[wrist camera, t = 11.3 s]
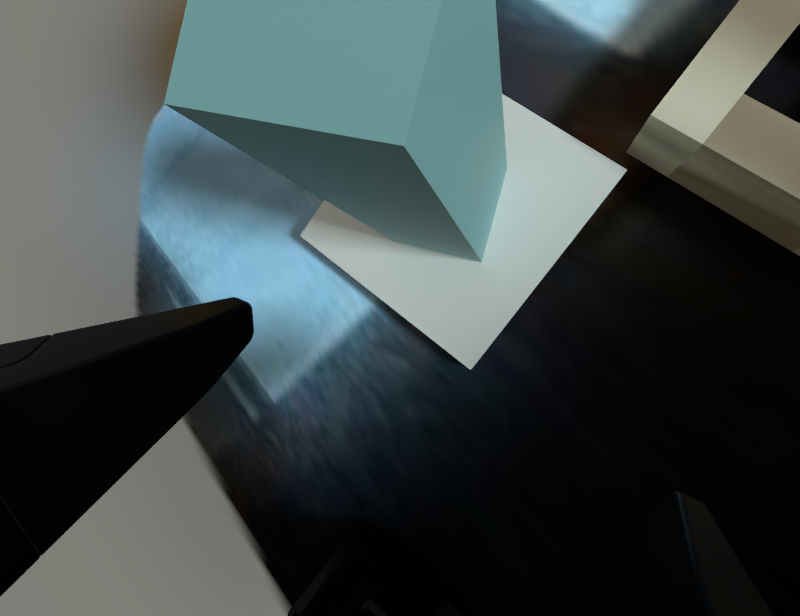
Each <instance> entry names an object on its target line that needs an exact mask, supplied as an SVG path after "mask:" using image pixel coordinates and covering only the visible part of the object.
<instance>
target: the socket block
mask: <svg viewBox="0 0 800 616" xmlns="http://www.w3.org/2000/svg"><path fill="white" fill-rule="evenodd" d="M799 24H800V0H739V1H738V3H737V4H736V5H735V7H734V8H733V9H732V10H731V12H730V13H729V14H728V16H727V17H726V18H725V19H724V21H723V22H722V23H721V25H720V26H719V27H718V29H717V30H716V31H715V32H714V34H713V35H712V36H711V38H710V39H709V40H708V41H707V43H706V44H705V45H704V47H703V48H702V49H701V50H700V52H699V53H698V54H697V56H696V57H695V58H694V59H693V61H692V62H691V63H690V65H689V66H688V67H687V69H686V70H685V71H684V72H683V74H682V75H681V76H680V78H679V79H678V80H677V81H676V83H675V84H674V85H673V87H672V88H671V89H670V90H669V92H668V93H667V94H666V96H665V97H664V98H663V99H662V101H661V102H660V103H659V105H658V106H657V107H656V109H655V110H654V111H653V112H652V114H651V115H650V117H649V118H648V120H647V121H646V123H645V124H644V126H643V127H642V129H641V130H640V132H639V133H638V135H637V136H636V138H635V139H634V141H633V142H632V144H631V145H630V147H629V148H628V150H627V151H626V153H628V154H629V155H631V156H633V157H634V158H636V159H638V160H639V161H641V162H643V163H645V164H646V165H648V166H650V167H651V168H653V169H655V170H656V171H658V172H660V173H661V174H663V175H665V176H666V177H668V178H670V179H671V180H673V181H675V182H676V183H678V184H680V185H681V186H683V187H685V188H686V189H688V190H690V191H691V192H693V193H695V194H696V195H698V196H700V197H702V198H703V199H705V200H707V201H708V202H710V203H712V204H713V205H715V206H717V207H718V208H720V209H722V210H723V211H725V212H727V213H728V214H730V215H732V216H733V217H735V218H737V219H738V220H740V221H742V222H743V223H745V224H747V225H748V226H750V227H752V228H754V229H755V230H757V231H759V232H760V233H762V234H764V235H765V236H767V237H769V238H770V239H772V240H774V241H775V242H777V243H779V244H780V245H782V246H784V247H785V248H787V249H789V250H790V251H792V252H794V253H795V254H797V255H799V256H800V123H798V122H796V121H794V120H792V119H790V118H788V117H786V116H785V115H783V114H781V113H779V112H777V111H775V110H773V109H771V108H769V107H767V106H766V105H764V104H762V103H760V102H758V101H756V100H754V99H752V98H750V97H749V96H747V95H745V94H743V93H744V92H745V91H746V90H747V88H748V87H749V86H750V85H751V83H752V82H753V81H754V80H755V78H756V77H757V76H758V75H759V73H760V72H761V71H762V70H763V68H764V67H765V66H766V65H767V63H768V62H769V61H770V60H771V58H772V57H773V56H774V55H775V53H776V52H777V51H778V50H779V49H780V47H781V46H782V45H783V44H784V42H785V41H786V40H787V39H788V37H789V36H790V35H791V34H792V32H793V31H794V30H795V29H796V27H797V26H798V25H799Z"/></svg>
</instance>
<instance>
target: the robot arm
mask: <svg viewBox="0 0 800 616" xmlns="http://www.w3.org/2000/svg"><path fill="white" fill-rule="evenodd" d="M253 333H254V327H253V313H252V307H251V305H250V304H249V303H248V302H246V301H243V300H241V299H239V298H235V297H232V298H227V299H222V300H217V301H212V302H208V303H203V304H198V305H193V306H188V307H183V308H178V309H173V310H169V311H164V312H159V313H154V314H149V315H144V316H139V317H135V318H129V319H125V320H120V321H115V322H110V323H105V324H100V325H95V326H90V327H85V328H81V329H76V330H71V331H66V332H61V333H56V334H53V335H52V336H51V335H46V336H41V337H36V338H32V339H27V340H22V341H16V342H12V343H6V344H1V345H0V596H1V595H2V594H3V593H4V592H5V591H6V590H7V589H8V588H9V587H10V586H11V585H13V584H14V583H15V582H16V580H18V579H19V578H20V577H21V576H22V575H23V574H24V573H25V572H26V571H27V569H29V568H30V567H31V566H32V565H33V564H34V563H35V562H36V561H37V560H38V559H39V557H40V556H41V555H43V553H45V552H46V551H47V550H48V549H49V548H50V547H51V546H52V545H53V544H54V543H55V542H56V541H57V540H58V539H59V538H60V537H61V536H62V535H63V534H64V533H65V532H66V531H67V530H68V529H69V528H70V527H71V526H72V525H73V524H74V523H75V522H76V521H77V520H78V519H79V518H80V517H81V516H82V515H83V514H84V513H85V512H86V511H87V510H88V509H89V508H90V507H91V506H92V505H93V504H94V503H95V502H96V501H97V500H98V499H100V497H102V495H104V494H105V492H107V491H108V490H109V489H110V488H111V487H112V486H113V485H114V484H115V483H116V482H117V481H118V480H119V479H120V478H121V477H122V476H123V475H124V474H125V473H126V472H127V471H128V470H129V469H130V468H131V467H132V466H133V465H134V464H135V463H136V462H137V461H138V460H139V459H140V458H141V457H142V456H143V455H144V454H145V453H146V452H147V451H148V450H149V449H150V448H151V447H152V446H153V445H154V444H155V443H156V442H157V441H158V440H159V439H160V438H161V437H163V436H164V435H165V434H166V432H168V431H169V429H171V428H172V427H173V426H174V425H175V424H176V423H177V422H178V421H179V420H180V419H181V418H182V417H183V416H184V415H185V414H186V413H187V412H188V411H189V410H190V409H191V408H192V407H193V406H194V405H195V404H196V403H197V402H198V401H199V400H200V399H201V398H202V397H203V396H204V395H205V394H206V393H207V392H208V391H209V390H210V389H211V387H212V386H213V385H214V384H215V383H216V382H217V381H218V379H219V378H220V377H221V376H222V375H223V373H224V372H225V371H226V370H227V369H228V367H229V366H230V365H231V364H232V363H233V361H234V360H235V359H236V358H237V357H238V355H239V354H240V353H241V352H242V351H243V349H244V348H245V347H246V346H247V345H248V343H249V342H250V341H251V339H252V336H253ZM362 529H364V530H365V531H367V533H368V536H364V535H362V533H361V530H362ZM297 613H299V614H300V615H299V616H469V615H468V614H467V612H466V611H465V610H464V609H463V608H462V607H461V606H460V605H458V604H457V603H456V602H455V601H454V600H453V599H452V598H451V597H450V596H449V595H448V594H447V593H446V592H445V591H444V590H443V589H442V586H441V584H440V583H439V582H437V581H436V580H435V579H434V578H433V577H432V576H431V575H430V574H429V573H428V572H427V571H426V570H425V569H424V568H423V567H421V566H420V565H419V564H418V563H417V562H416V561H415V560H414V559H413V558H412V557H411V556H410V555H409V554H408V553H407V552H405V551H404V550H403V549H402V548H401V547H397V546H396V545H395V544H394V543H393V542H391V541H390V540H389V539H388V538H387V537H386V536H385V535H384V534H383V533H382V532H381V531H380V530H379V529H378V528H377V527H376V526H374V525H373V524H372V523H371V522H369V521H367V520H363V521H360V522H359V523H358V524H357V525H356V526H355V528H354V529H353V530H352V531H351V533H350V534H349V535H348V537H347V538H346V539H345V540H344V542H343V543H342V544H341V545H340V547H339V548H338V549H337V551H336V552H335V553H334V554H333V556H332V557H331V558H330V559H329V561H328V562H327V563H326V565H325V566H324V567H323V568H322V570H321V571H320V572H319V573H318V575H317V576H316V577H315V579H314V580H313V581H312V582H311V584H310V585H309V586H308V587H307V589H306V590H305V591H304V593H303V594H302V595H301V596H300V598H299V599H298V600H297V601H296V603H295V604H294V605H293V607H292V608H291V609H290V611H289V613H288V616H298V615H297ZM635 616H775V615H774V614H773V612H772V611H771V609H770V607H769V606H768V604H767V603H766V601H765V599H764V598H763V596H762V594H761V593H760V591H759V590H758V588H757V586H756V585H755V583H754V582H753V580H752V578H751V577H750V575H749V574H748V572H747V570H746V569H745V567H744V566H743V564H742V562H741V561H740V559H739V557H738V556H737V554H736V553H735V551H734V549H733V548H732V546H731V545H730V543H729V541H728V540H727V538H726V537H725V535H724V533H723V532H722V530H721V529H720V527H719V525H718V524H717V522H716V520H715V519H714V517H713V516H712V514H711V512H710V511H709V509H708V508H707V506H706V505H705V504H704V503H703V502H702V501H700V500H698V499H696V498H693V497H691V496H689V495H687V494H684V493H682V492H674V493H673V494H672V495H671V496H670V497H669V498H668V499H667V500H666V501H665V502H664V503H663V505H662V506H661V507H660V508H659V509H658V510H657V511H656V513H655V514H654V515H653V516H652V518H651V520H650V523H649V526H648V531H647V538H646V545H645V551H644V558H643V565H642V571H641V578H640V585H639V591H638V598H637V606H636V615H635Z"/></svg>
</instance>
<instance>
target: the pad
mask: <svg viewBox="0 0 800 616" xmlns="http://www.w3.org/2000/svg"><path fill="white" fill-rule="evenodd" d="M502 102H503V116H504V130H505V145H506V159H507V171H506V175H505V178H504V182H503V186H502V189H501V193H500V197H499V200H498V204H497V208H496V211H495V215H494V219H493V223H492V226H491V230H490V234H489V237H488V241H487V245H486V248H485V252H484V256H483V259H482V262H479V261H475V260H471V259H467V258H462V257H458V256H454V255H450V254H445V253H441V252H437V251H433V250H429V249H424V248H420V247H416V246H412V245H407V244H403V243H399V242H395V241H392V240H391V239H389V238H387V237H386V236H384V235H382V234H381V233H379V232H377V231H375V230H374V229H372V228H370V227H369V226H367V225H365V224H364V223H362V222H360V221H359V220H357V219H355V218H354V217H352V216H350V215H349V214H347V213H345V212H344V211H342V210H340V209H339V208H337V207H335V206H334V205H332V204H330V203H329V202H327V201H325V200H324V201H323V202H322V204H321V205H320V207H319V208H318V210H317V211H316V212H315V214H314V215H313V217H312V218H311V220H310V221H309V223H308V224H307V226H306V227H305V229H304V230H303V232H302V233H301V235H300V236H301V237H302V238H304V239H305V240H306V241H307V242H309V243H310V244H311V245H312V246H314V247H315V248H316V249H317V250H319V251H320V252H321V253H323V254H324V255H325V256H326V257H328V258H329V259H330V260H331V261H333V262H334V263H335V264H336V265H338V266H339V267H340V268H342V269H343V270H344V271H345V272H347V273H348V274H349V275H350V276H352V277H353V278H354V279H356V280H357V281H358V282H359V283H361V284H362V285H363V286H364V287H366V288H367V289H368V290H369V291H371V292H372V293H373V294H375V295H376V296H377V297H378V298H380V299H381V300H382V301H383V302H385V303H386V304H387V305H388V306H390V307H391V308H392V309H394V310H395V311H396V312H397V313H399V314H400V315H401V316H402V317H404V318H405V319H406V320H408V321H409V322H410V323H411V324H413V325H414V326H415V327H416V328H418V329H419V330H420V331H421V332H423V333H424V334H425V335H427V336H428V337H429V338H430V339H432V340H433V341H434V342H435V343H437V344H438V345H439V346H440V347H442V348H443V349H444V350H446V351H447V352H448V353H449V354H451V355H452V356H453V357H454V358H456V359H457V360H458V361H460V362H461V363H462V364H463V365H465V366H466V367H467V368H468V369H470V370H471V369H472V368H473V367H474V366H475V364H476V363H477V362H478V361H479V359H480V358H481V357H482V355H483V354H484V353H485V352H486V350H487V349H488V348H489V346H490V345H491V344H492V343H493V341H494V340H495V339H496V338H497V336H498V335H499V334H500V332H501V331H502V330H503V329H504V327H505V326H506V325H507V323H508V322H509V321H510V320H511V318H512V317H513V316H514V315H515V313H516V312H517V311H518V309H519V308H520V307H521V306H522V304H523V303H524V302H525V300H526V299H527V298H528V297H529V295H530V294H531V293H532V292H533V290H534V289H535V288H536V286H537V285H538V284H539V283H540V281H541V280H542V279H543V277H544V276H545V275H546V274H547V272H548V271H549V270H550V269H551V267H552V266H553V265H554V263H555V262H556V261H557V260H558V258H559V257H560V256H561V254H562V253H563V252H564V251H565V249H566V248H567V247H568V246H569V244H570V243H571V242H572V240H573V239H574V238H575V237H576V235H577V234H578V233H579V231H580V230H581V229H582V228H583V226H584V225H585V224H586V223H587V221H588V220H589V219H590V217H591V216H592V215H593V214H594V212H595V211H596V210H597V208H598V207H599V206H600V205H601V203H602V202H603V201H604V200H605V198H606V197H607V196H608V194H609V193H610V192H611V191H612V189H613V188H614V187H615V185H616V184H617V183H618V182H619V180H620V179H621V178H622V176H623V175H624V174H625V172H626V171H627V169H625V168H624V167H622V166H620V165H619V164H617V163H615V162H614V161H612V160H610V159H609V158H607V157H606V156H604V155H602V154H601V153H599V152H597V151H596V150H594V149H592V148H591V147H589V146H587V145H586V144H584V143H582V142H581V141H579V140H577V139H576V138H574V137H572V136H571V135H569V134H568V133H566V132H564V131H563V130H561V129H559V128H558V127H556V126H554V125H553V124H551V123H549V122H548V121H546V120H544V119H543V118H541V117H539V116H538V115H536V114H535V113H533V112H531V111H530V110H528V109H526V108H525V107H523V106H521V105H520V104H518V103H516V102H515V101H513V100H511V99H510V98H508V97H506V96H505V95H503V94H502Z"/></svg>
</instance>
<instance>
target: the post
mask: <svg viewBox="0 0 800 616" xmlns="http://www.w3.org/2000/svg"><path fill="white" fill-rule="evenodd" d="M164 104H165V105H167V106H168V107H170V108H172V109H173V110H175V111H177V112H178V113H180V114H182V115H183V116H185V117H187V118H188V119H190V120H192V121H193V122H195V123H197V124H198V125H200V126H202V127H203V128H205V129H207V130H208V131H210V132H212V133H213V134H215V135H217V136H218V137H220V138H222V139H223V140H225V141H227V142H228V143H230V144H232V145H233V146H235V147H237V148H238V149H240V150H242V151H243V152H245V153H247V154H248V155H250V156H252V157H253V158H255V159H257V160H259V161H260V162H262V163H264V164H265V165H267V166H269V167H270V168H272V169H274V170H275V171H277V172H279V173H280V174H282V175H284V176H285V177H287V178H289V179H290V180H292V181H294V182H295V183H297V184H299V185H300V186H302V187H304V188H305V189H307V190H309V191H310V192H312V193H314V194H315V195H317V196H319V197H320V198H322V199H324V200H325V201H327V202H329V203H330V204H332V205H334V206H335V207H337V208H339V209H340V210H342V211H344V212H345V213H347V214H349V215H350V216H352V217H354V218H355V219H357V220H359V221H360V222H362V223H364V224H365V225H367V226H369V227H370V228H372V229H374V230H375V231H377V232H379V233H381V234H382V235H384V236H386V237H387V238H389V239H391V240H392V241H395V242H399V243H403V244H407V245H412V246H416V247H420V248H424V249H429V250H433V251H437V252H441V253H445V254H450V255H454V256H458V257H462V258H467V259H471V260H475V261H479V262H482V259H483V256H484V252H485V248H486V245H487V241H488V237H489V234H490V230H491V226H492V223H493V219H494V215H495V211H496V208H497V204H498V200H499V197H500V193H501V189H502V186H503V182H504V178H505V175H506V171H507V159H506V145H505V130H504V116H503V102H502V88H501V73H500V59H499V45H498V30H497V16H496V2H495V0H188V1H187V6H186V10H185V14H184V19H183V23H182V27H181V31H180V36H179V40H178V45H177V49H176V53H175V58H174V62H173V67H172V71H171V75H170V80H169V85H168V88H167V93H166V97H165V102H164Z"/></svg>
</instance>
